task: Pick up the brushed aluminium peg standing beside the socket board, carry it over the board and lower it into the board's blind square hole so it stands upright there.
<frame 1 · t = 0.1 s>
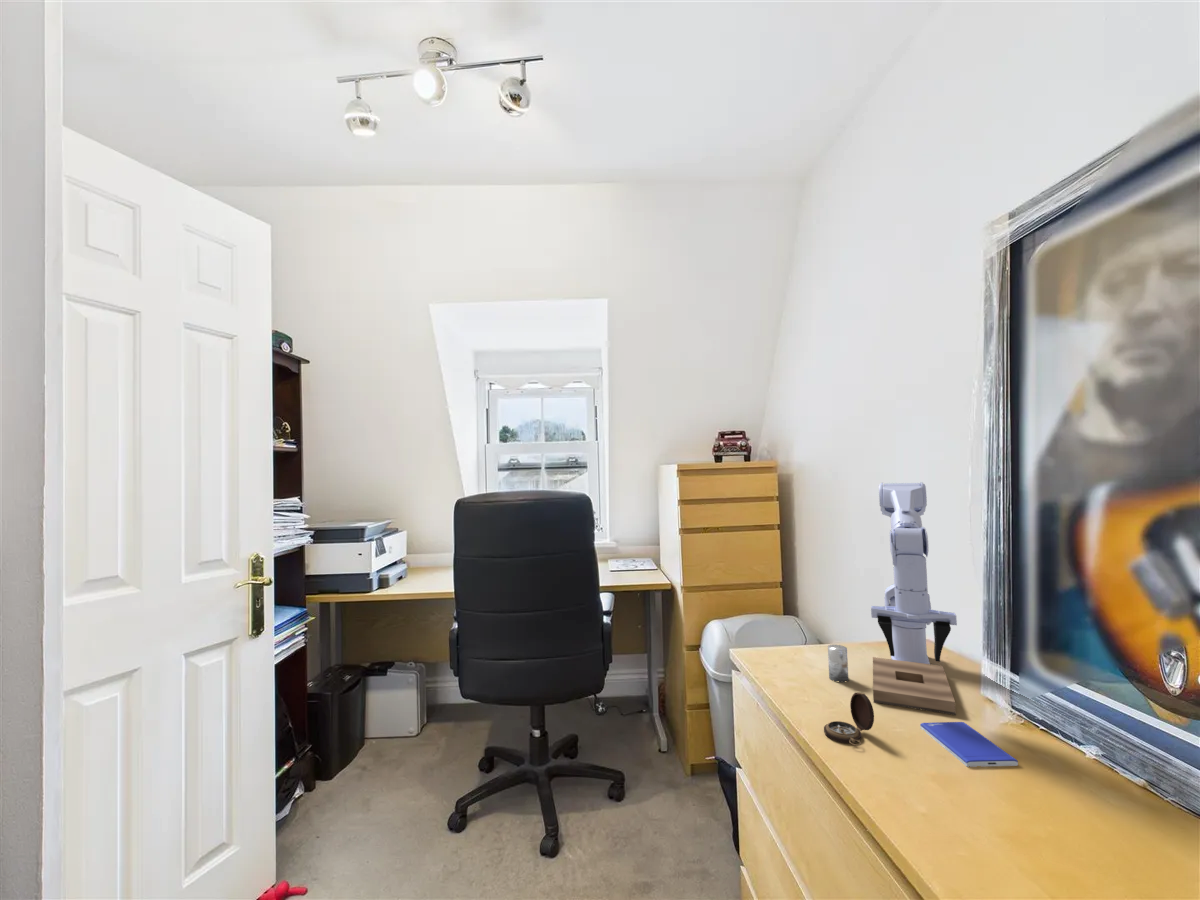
hand: (914, 657, 104), 10 cm above the chest of drawers, tool pointing down, fingers open, 7 cm apart
compass: (849, 739, 93), on the chest of drawers
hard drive: (966, 750, 89), on the chest of drawers
socket board: (910, 688, 112), on the chest of drawers
peg: (838, 678, 119), on the chest of drawers
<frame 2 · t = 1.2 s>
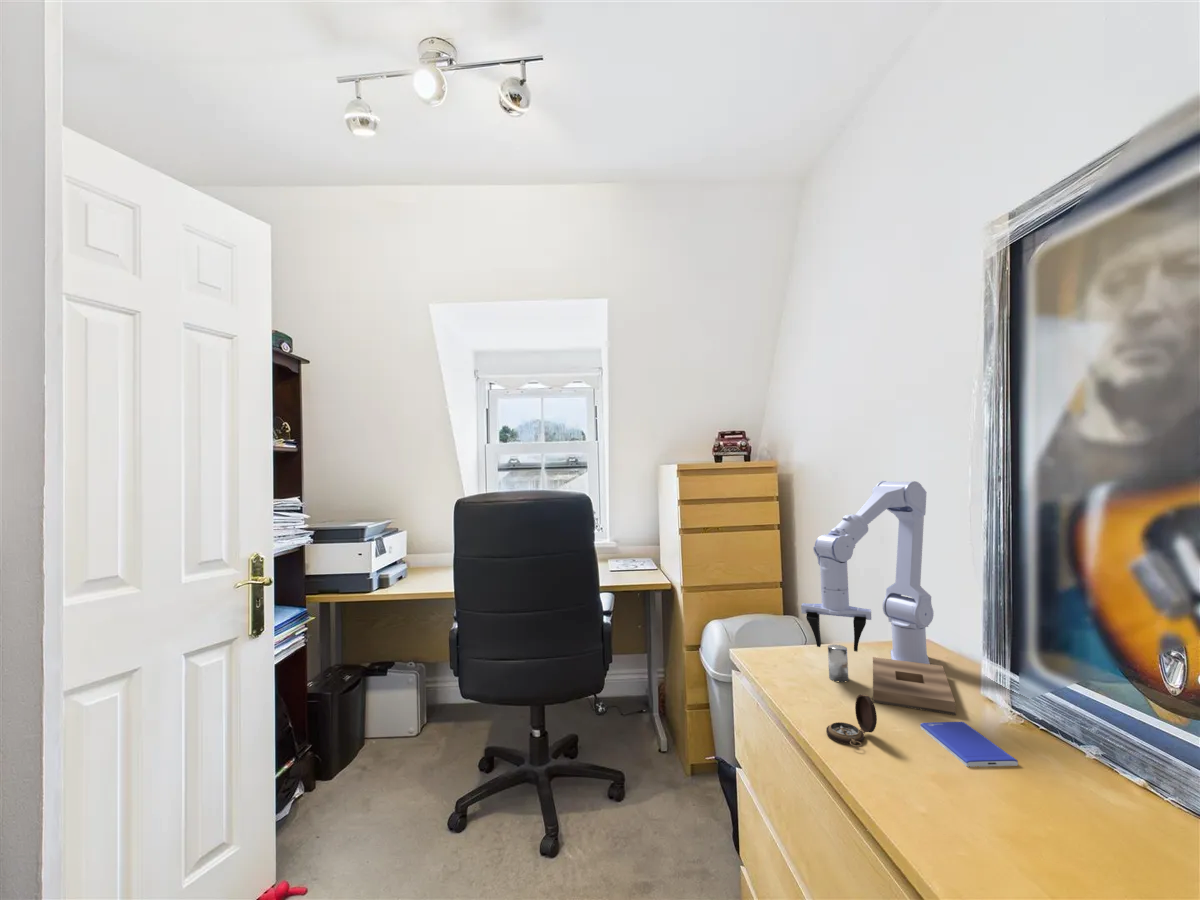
hand: (837, 647, 119), 7 cm above the chest of drawers, tool pointing down, fingers open, 7 cm apart
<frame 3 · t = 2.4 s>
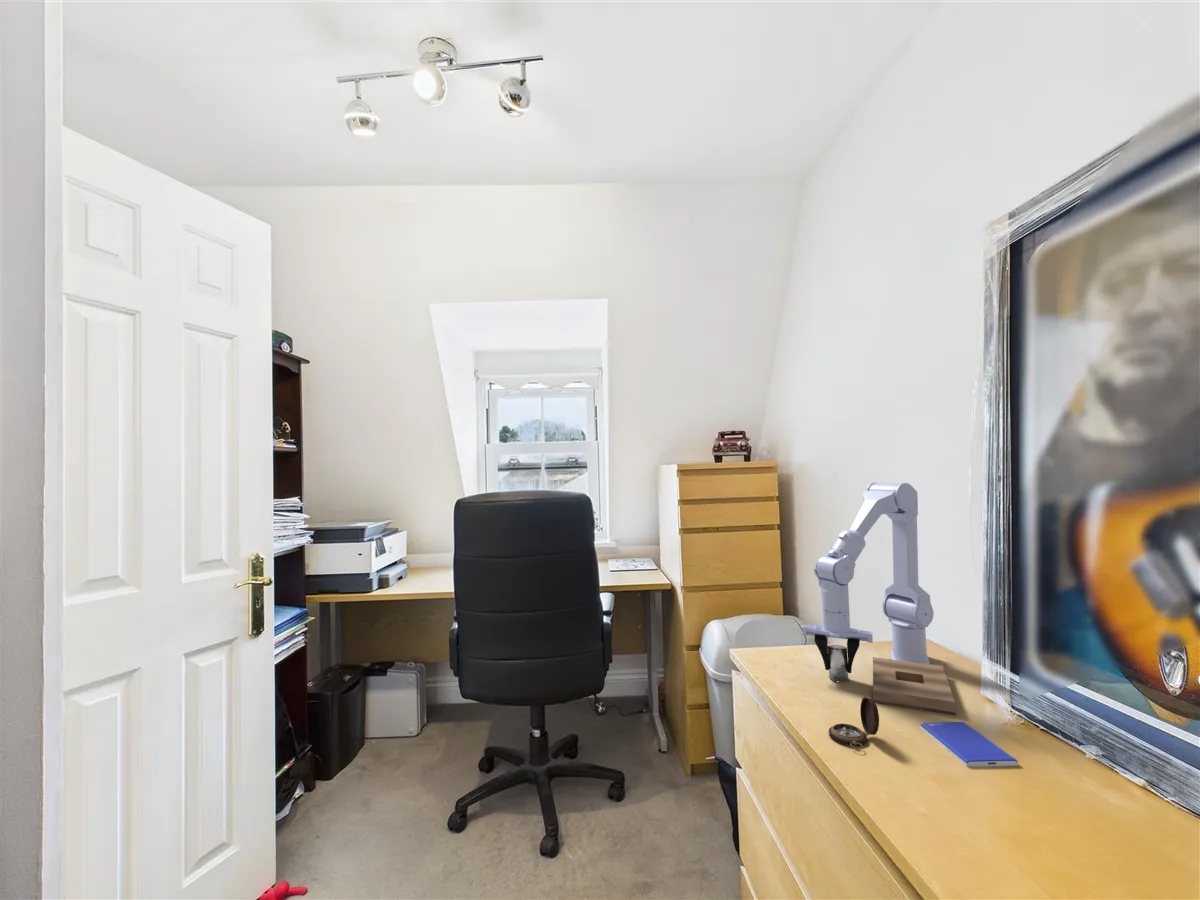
hand: (838, 670, 119), 2 cm above the chest of drawers, tool pointing down, fingers closed on peg, 4 cm apart
peg: (838, 678, 119), on the chest of drawers, touching gripper
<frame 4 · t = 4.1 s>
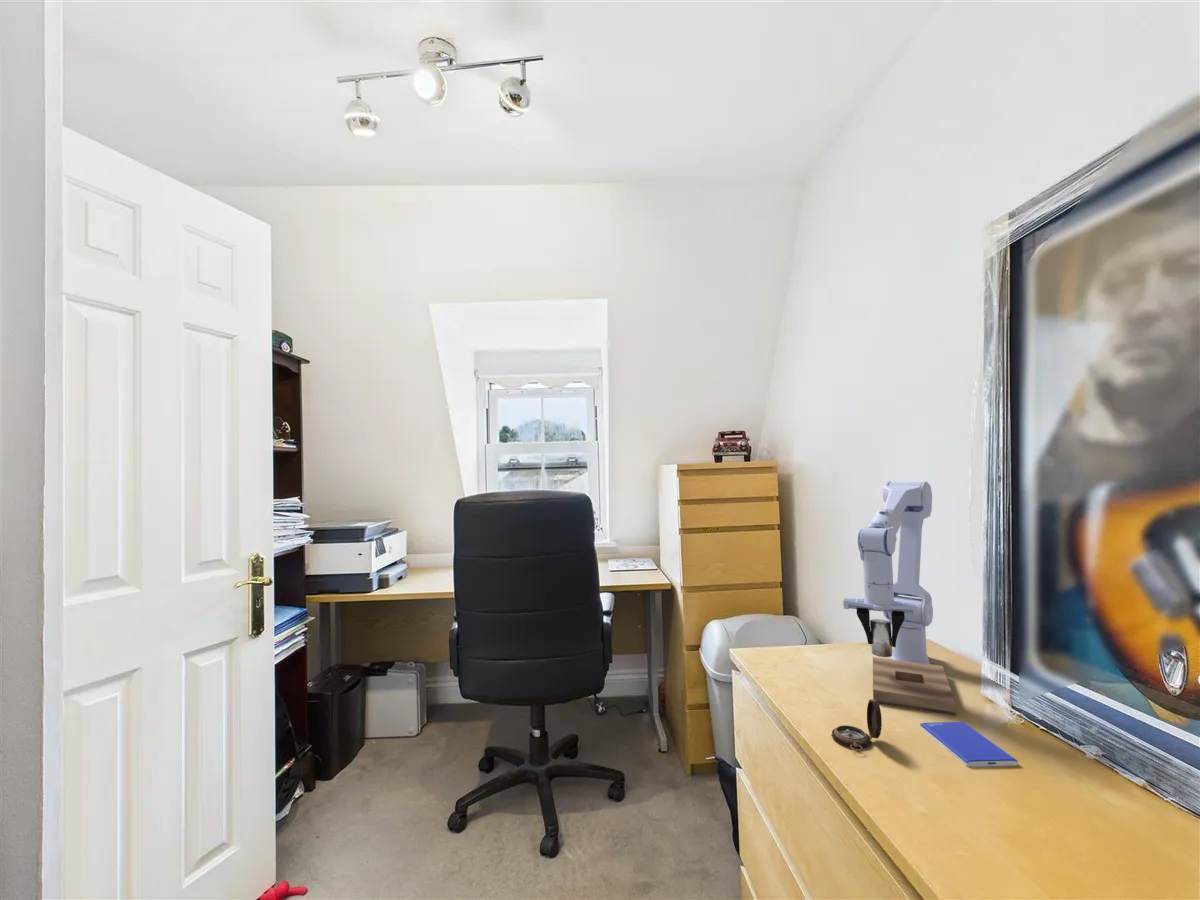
hand: (881, 644, 115), 9 cm above the chest of drawers, tool pointing down, fingers closed on peg, 4 cm apart
peg: (882, 653, 115), point 7 cm above the chest of drawers, touching gripper
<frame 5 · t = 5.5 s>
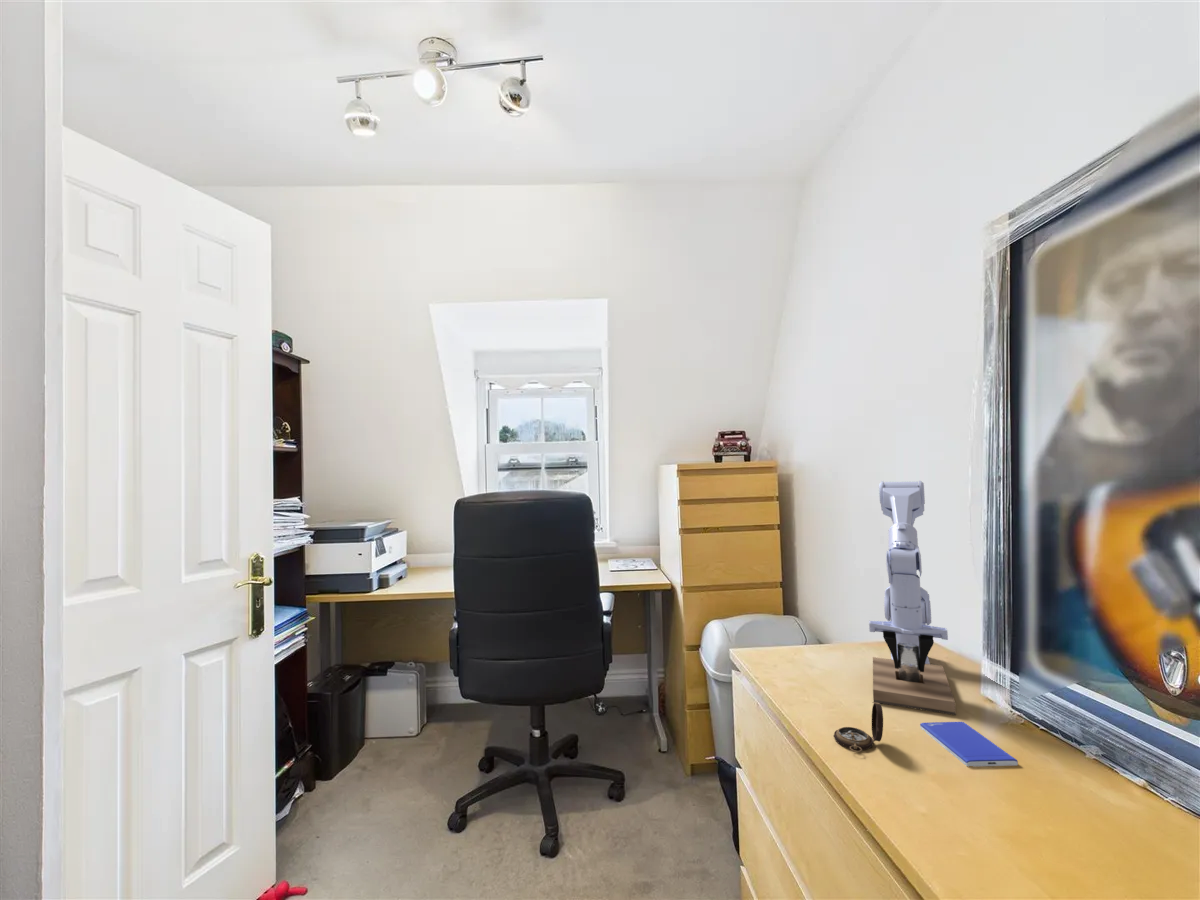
hand: (909, 668, 112), 4 cm above the chest of drawers, tool pointing down, fingers closed on peg, 4 cm apart
peg: (909, 678, 112), point 2 cm above the chest of drawers, touching gripper
when the fingers open (3 cm above the chest of drawers, at t = 6.2 s): peg stays where it is, resting on socket board.
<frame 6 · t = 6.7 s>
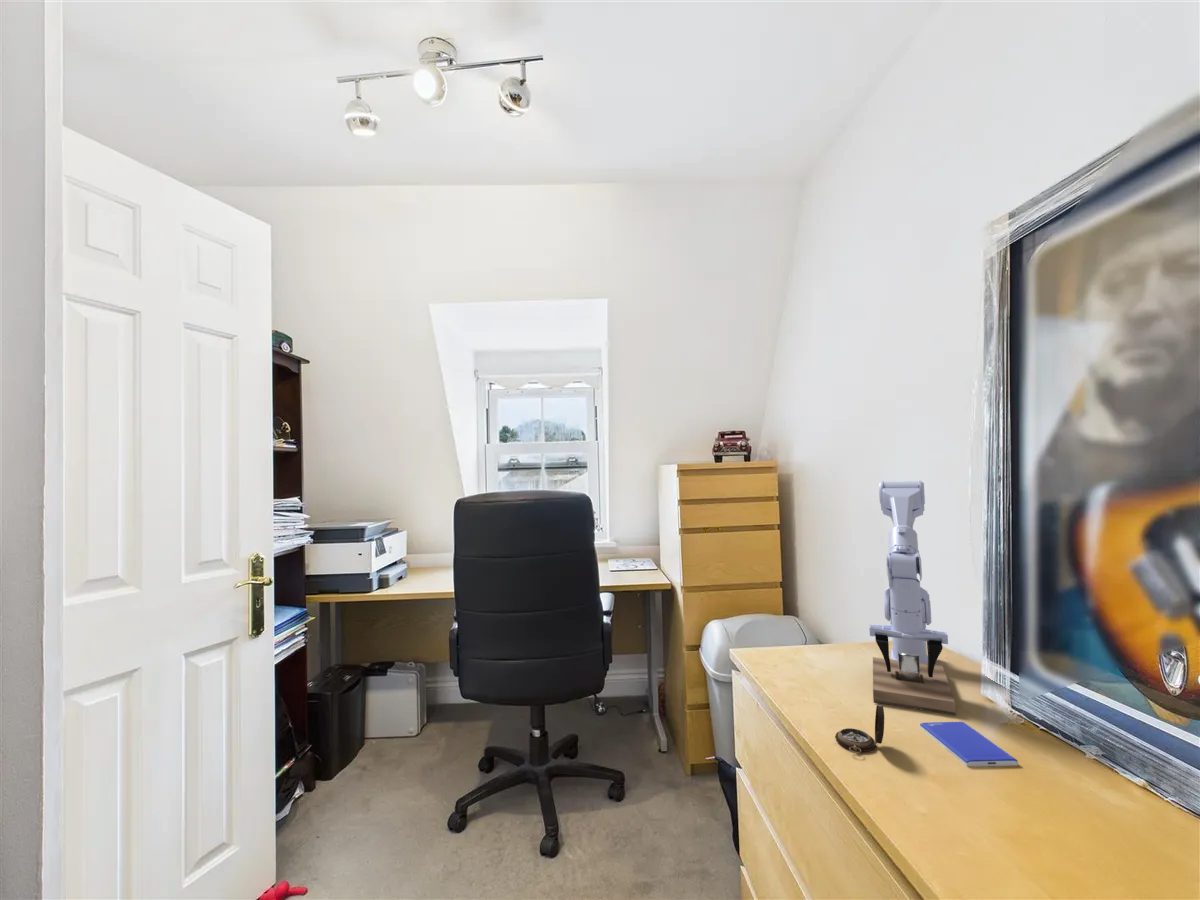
hand: (909, 672, 112), 3 cm above the chest of drawers, tool pointing down, fingers open, 7 cm apart
peg: (910, 686, 112), point 1 cm above the chest of drawers, touching socket board
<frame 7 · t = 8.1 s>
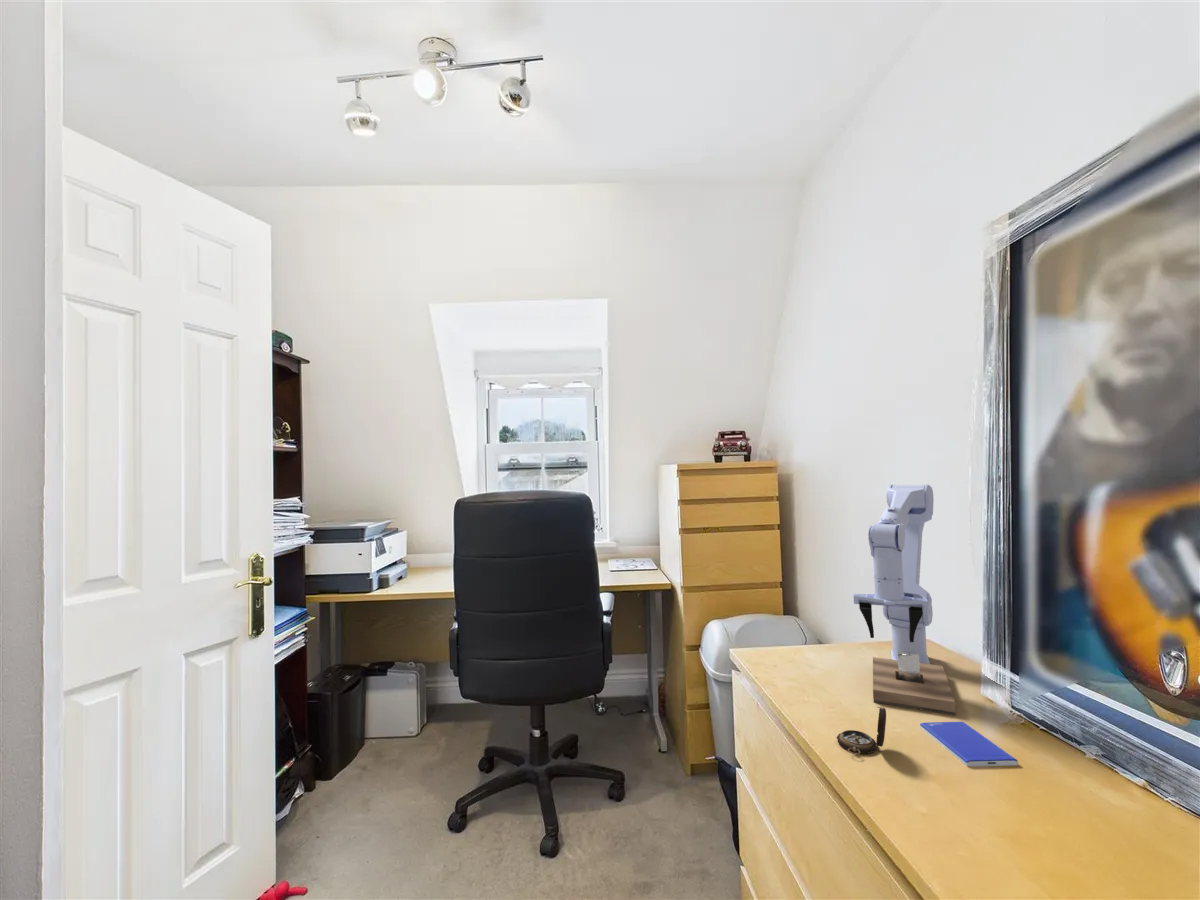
hand: (891, 638, 117), 9 cm above the chest of drawers, tool pointing down, fingers open, 7 cm apart
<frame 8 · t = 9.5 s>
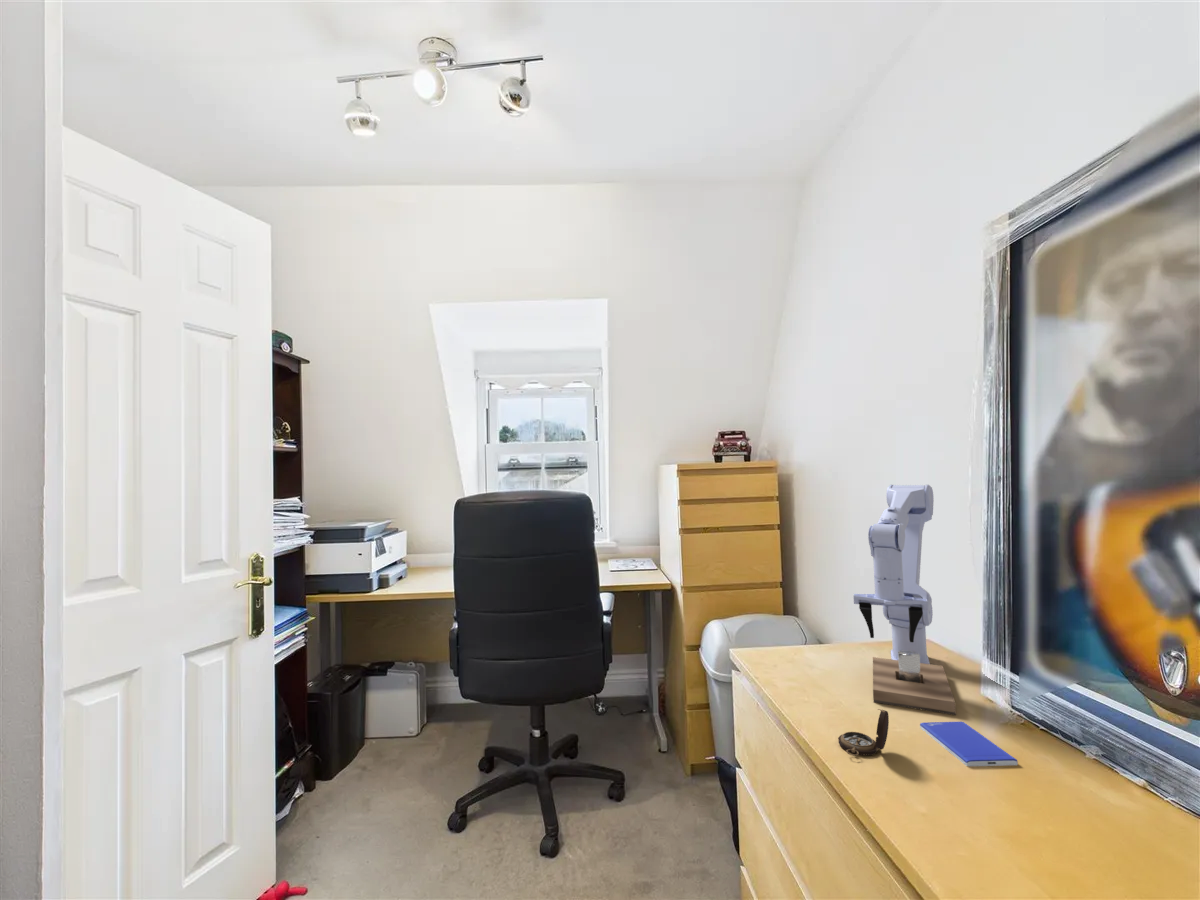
hand: (891, 638, 117), 9 cm above the chest of drawers, tool pointing down, fingers open, 7 cm apart
at the end: peg 0.0 cm off-centre on the socket board, point 0.5 cm above the socket board's base; peg tilted 1°; the gripper is holding nothing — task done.
